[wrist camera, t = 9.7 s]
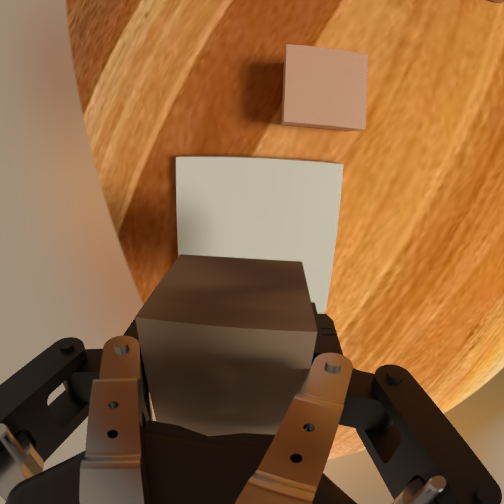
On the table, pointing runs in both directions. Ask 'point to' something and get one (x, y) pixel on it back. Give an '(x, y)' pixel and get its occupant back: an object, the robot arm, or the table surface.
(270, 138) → the table surface
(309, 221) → the base plate
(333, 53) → the pink cube
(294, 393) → the walnut brick
